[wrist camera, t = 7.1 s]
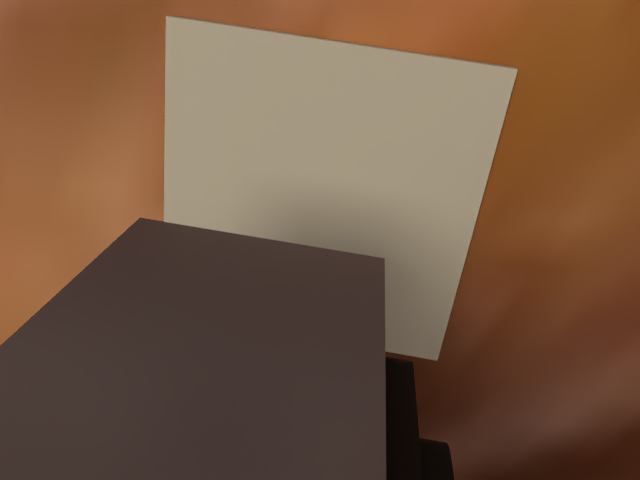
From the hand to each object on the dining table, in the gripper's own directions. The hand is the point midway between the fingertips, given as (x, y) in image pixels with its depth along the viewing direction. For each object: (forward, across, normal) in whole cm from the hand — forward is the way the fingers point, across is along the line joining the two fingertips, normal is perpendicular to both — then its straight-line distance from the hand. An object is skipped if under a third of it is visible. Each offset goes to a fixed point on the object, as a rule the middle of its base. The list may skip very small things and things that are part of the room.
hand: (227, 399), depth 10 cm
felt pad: (+11, 0, 0) cm, 11 cm away
